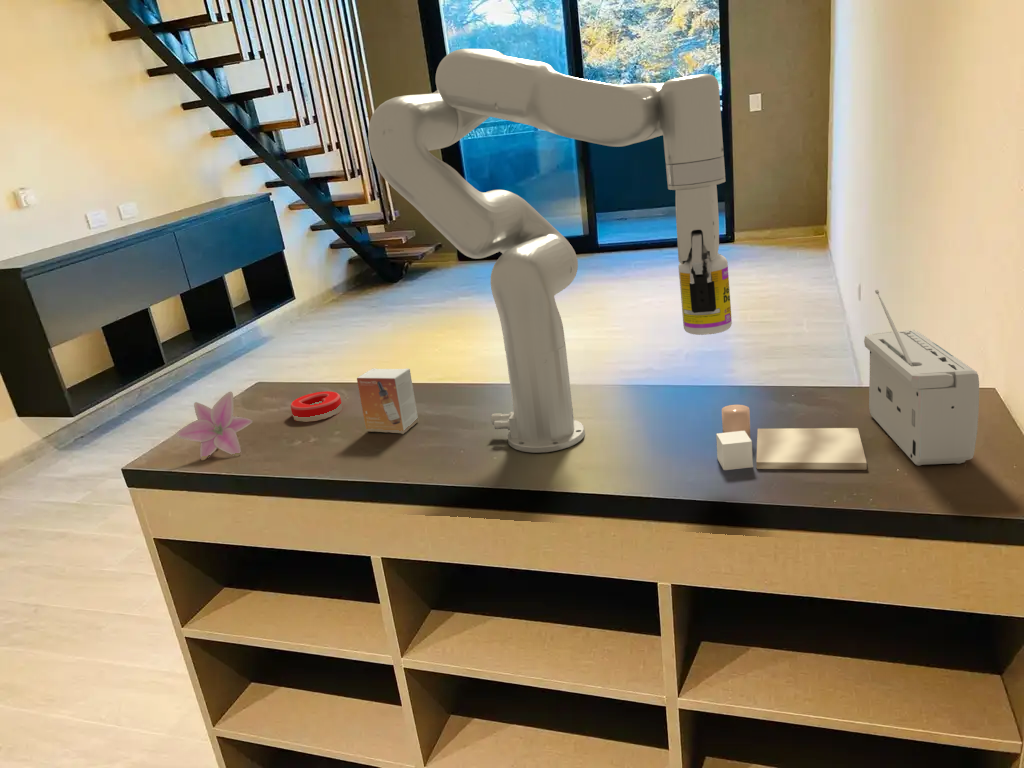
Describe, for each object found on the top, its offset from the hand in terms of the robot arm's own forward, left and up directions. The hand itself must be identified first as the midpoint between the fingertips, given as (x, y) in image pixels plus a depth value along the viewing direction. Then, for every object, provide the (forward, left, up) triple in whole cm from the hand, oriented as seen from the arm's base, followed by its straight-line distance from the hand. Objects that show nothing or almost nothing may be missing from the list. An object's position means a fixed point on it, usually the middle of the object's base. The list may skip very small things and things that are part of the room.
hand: (706, 303), depth 113 cm
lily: (-86, -1, -22) cm, 89 cm away
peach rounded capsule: (+3, +3, -22) cm, 23 cm away
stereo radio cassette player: (+28, +4, -22) cm, 36 cm away
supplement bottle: (0, 0, -4) cm, 4 cm away
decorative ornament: (-77, +17, -23) cm, 82 cm away
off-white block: (+3, -5, -22) cm, 23 cm away
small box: (-57, +9, -22) cm, 62 cm away
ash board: (+13, -1, -22) cm, 26 cm away
